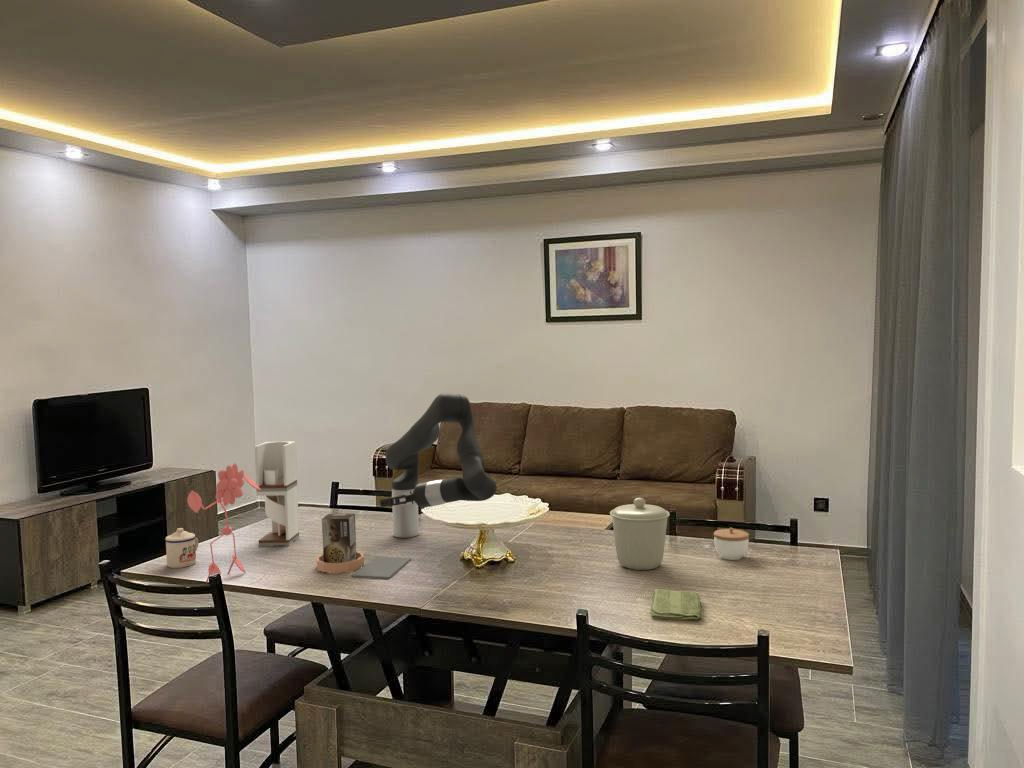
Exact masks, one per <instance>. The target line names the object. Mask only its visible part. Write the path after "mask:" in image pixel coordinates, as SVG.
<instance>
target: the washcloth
mask: <svg viewBox="0 0 1024 768" xmlns="http://www.w3.org/2000/svg"><path fill="white" fill-rule="evenodd" d="M651 601H652V603H651V605H652V606H651V608H650V617H651V618H652V619H654V620H655V619H656V620H658V619H660V620H661V619H662V620H688V621H690V620H692V621H703V620H704V615H703V610H702V605H701V597H700V594H699V592H697V591H688V590H687V591H683V590H679V591H677V590H669V589H661V588H655V589H654V590H653V593H652V594H651Z"/></svg>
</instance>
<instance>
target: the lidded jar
mask: <svg viewBox="0 0 1024 768" xmlns="http://www.w3.org/2000/svg"><path fill="white" fill-rule="evenodd" d="M749 536H750V534H749V533H748V531H744V530H742V529H735V528H733V527H729V528H724V529H723V528H722V529H717V530H714V532H713V540H714V541H713V542H714V547H715V550H716V551H717V553H718V555H720V556H721V558H722V559H724V560H729V561H738V560H741V559H742V557H743V556H745V555H746V553H747V551H748V548H749V543H750V542H749V541H750V540H749V538H750V537H749Z"/></svg>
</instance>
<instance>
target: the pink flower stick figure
mask: <svg viewBox="0 0 1024 768" xmlns="http://www.w3.org/2000/svg"><path fill="white" fill-rule="evenodd" d="M238 468H239V467H238V465H237V463H236V462H235V463H233V465H230V464H229V465H227V466H226V467H225V470H224V469H222V470H219V471H218V472H217V477H218V479H219V481H218V483H216V489H217V490H216V493H215V499H216V500H215V501H214V502H212V503H210V504H209V505H208V506H206V507H204V505H203V503H202V502H203V500H202V498H201V496H200V494H198V492H196V491H194V490H191V491H190V492H189V493H188V496H187V505H188V507H189V508H190V509H191V510H192V511H193V512H194V513H196V514H198V513H199V511H200V509H201V508H202V510H203V511H206V510H207V509H209V508H210V507H213V506H214V505H216V504H217V503H219V504H220V505H221V507H222V509H223V511H224V515H225V520H226V526H224V527H223V528H222V530H221V532H222V534H220V536H218V537H217V538H216V539H214V540H213V541H211V542H210V543H209V545H210V553H211V563H210V564H209V565H208V575H207V578H206V581H205V583H206V584H208V582H209V580H208V578H209V576H210V575H212V574H214V573H219V574H220V575H221V576H222V572H221V569H220V567H219V566H218V565H217V563H215V562H214V554H213V545H212V544H214V542H216V541H217V540H219V539H220V538H222V537H223V536H229V535H232V538H233V539H232V540H233V549H234V550H233V551H234V554H232V555H231V557H232V561H231V564H230V567H229V568H228V572H227V574H228V575H229V574H230V573H231V571H232V568H233V565H234V564H235V565H236V566H237V568H238V569H240V571H241V572H243V573H244V574H246V573H247V572H246V570H245V567H244V565H243V563H242V562H241V560H240V559H239V558H238V557H237V553H236V552H237V551H236V541H235V539H236V538H235V534H234V532H233V529H232V527H231V526H229V518H228V513H227V509H226V508H225V507H227V506H229V504H230V505H234V504H235V503H236V499H237V498H242V497H243V495H244V492H243V490H242V487H243V486H244V484H245V481H246V483H248V484H249V485H250V486H251V487H253V489H255V490H256V489H258V490H260V491H261V489H260V488H259V487H258V485H257V484H256V482H255V481H254V480H253V479H252V478H251V477H249V476H248V475H246V474H245V473H244V470H243V469H241V470H239V469H238ZM263 573H265V571H263ZM209 579H210V578H209ZM242 587H243V585H241V586H240V588H242Z"/></svg>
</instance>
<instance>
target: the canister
mask: <svg viewBox="0 0 1024 768" xmlns="http://www.w3.org/2000/svg"><path fill="white" fill-rule="evenodd" d="M609 515H610V517H612V528H613V536H614V537H613V538H614V545H615V551H616V556H617V560H618V563H619V564H620V565H621V567H624V568H627V569H630V570H636V571H637V570H638V571H646V570H647V571H649V570H653V569H656V568H659V567H660V565H661V564H662V563H663V559H664V552H665V545H666V534H667V524H668V518H669V516H670V512H669V511H668V510H666V509H665V508H663V507H661V506H659V505H654V504H647V503H646V500H645V499H644V498H643V497H636V498H634V500H633V503H632V504H631V503H630V504H623V505H619V506H617V507H615V508H614V509H611V511H609Z"/></svg>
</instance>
